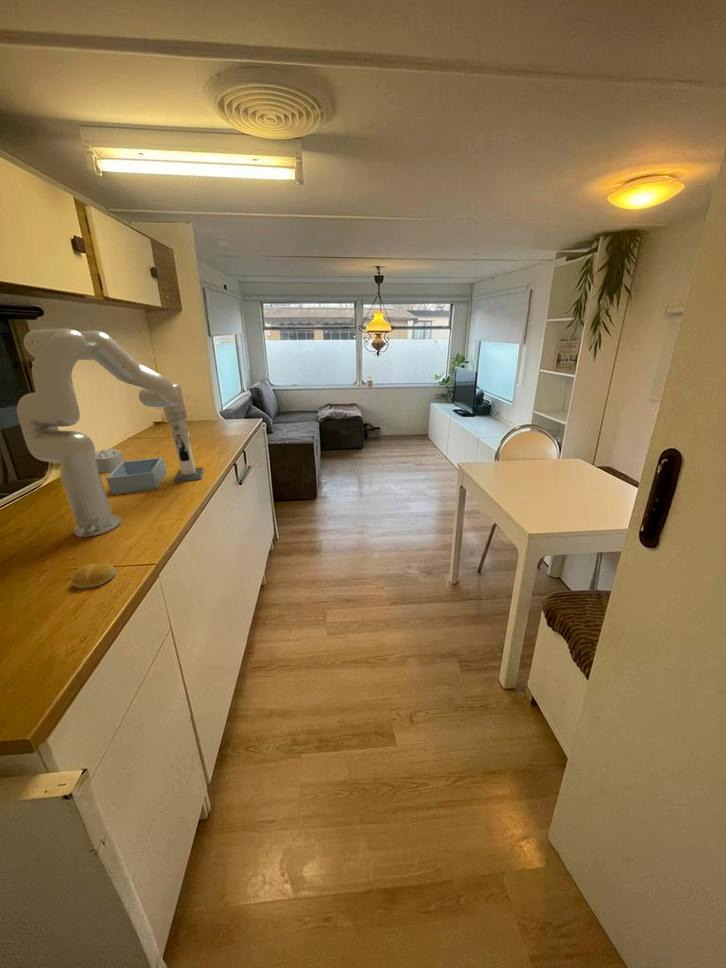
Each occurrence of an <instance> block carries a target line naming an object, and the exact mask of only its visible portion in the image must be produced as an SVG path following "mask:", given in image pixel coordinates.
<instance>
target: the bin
mask: <svg viewBox="0 0 726 968" xmlns="http://www.w3.org/2000/svg"><path fill="white" fill-rule="evenodd" d="M165 473H166V474H167V468H166V464H165V461H164V457H154V458H146V459H144V458H143V459H137V460H127V461H126V460H125V461H124V462H121V463H120V464H119V465H118V466H117V468H116V469H115V470H114V471H113V472H112V473H110V474H108V476H107V477H106V481H107V485H108V487H109V490H110V494H111V496H113V495H114V494H116V495H123V494H122V493H124V494H130V492H132V493H138V492H139V491H140V492H147V491H146V490H148V491H153V490H152V489H156V490H158V489H159V487H160V485H161V483H162V481H163V480H164V478H163V477H165V476H166V474H165ZM164 475H165V476H164ZM162 479H163V480H162ZM161 480H162V481H161ZM160 482H161V483H160ZM159 484H160V485H159ZM158 486H159V487H158ZM157 488H158V489H157ZM114 496H115V495H114Z"/></svg>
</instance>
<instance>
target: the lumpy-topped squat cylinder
mask: <svg viewBox="0 0 726 968" xmlns="http://www.w3.org/2000/svg"><path fill="white" fill-rule="evenodd" d="M95 456H96V463H97V468H98V471H99V472H100V473H99V474H101V473H110V474H111V473H112V472H113V471H114V470H115V469H116V468H117V466H118V465H119V464H120V463H121V462H125V461H124V458H123V454H122V451H121V449H116V448H110V449H101V451H99V452H98V451H97V452H96V451H95Z"/></svg>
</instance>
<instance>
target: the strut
mask: <svg viewBox="0 0 726 968" xmlns="http://www.w3.org/2000/svg"><path fill="white" fill-rule="evenodd" d="M176 443H177V442H176ZM182 444H184V443H182ZM174 445H175V444H174ZM185 445H186V451H188V456H189V461H181V460H180V455H179V450H178V445H175V450H176V454H177V458H178V463H179V467H180V470H181V472H182V475H188V474H195V471H196V468H197V467H196V464H195V460H194V456H193V450H192V447H191V440H190V441H189V443H188V444H185ZM183 447H184V446H183Z"/></svg>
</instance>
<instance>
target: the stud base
mask: <svg viewBox="0 0 726 968" xmlns="http://www.w3.org/2000/svg"><path fill="white" fill-rule="evenodd" d="M195 468H196V471H195V474H188V475H182V472H181V469H178V470H177V472H176V473H175V476H174V481H175V483H176V482H177V481H185V482H187V481H186V480H193V481H198V480H197V479H201V480H202V479H203V475H204V471H205V470H204V467H195ZM177 483H178V482H177Z"/></svg>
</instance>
